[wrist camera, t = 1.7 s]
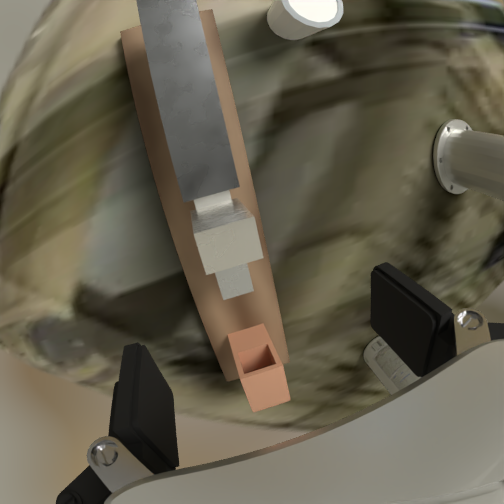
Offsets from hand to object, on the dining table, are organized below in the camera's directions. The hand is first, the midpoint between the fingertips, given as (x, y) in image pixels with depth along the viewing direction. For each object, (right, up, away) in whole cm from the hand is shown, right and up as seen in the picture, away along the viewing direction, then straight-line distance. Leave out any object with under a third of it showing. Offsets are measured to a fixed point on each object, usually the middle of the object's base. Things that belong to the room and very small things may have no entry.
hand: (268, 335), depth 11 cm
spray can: (+22, -14, +39) cm, 47 cm away
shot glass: (+4, +30, +16) cm, 34 cm away
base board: (-5, +7, +23) cm, 24 cm away
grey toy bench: (-8, +19, +16) cm, 26 cm away
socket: (-1, -10, +29) cm, 31 cm away
